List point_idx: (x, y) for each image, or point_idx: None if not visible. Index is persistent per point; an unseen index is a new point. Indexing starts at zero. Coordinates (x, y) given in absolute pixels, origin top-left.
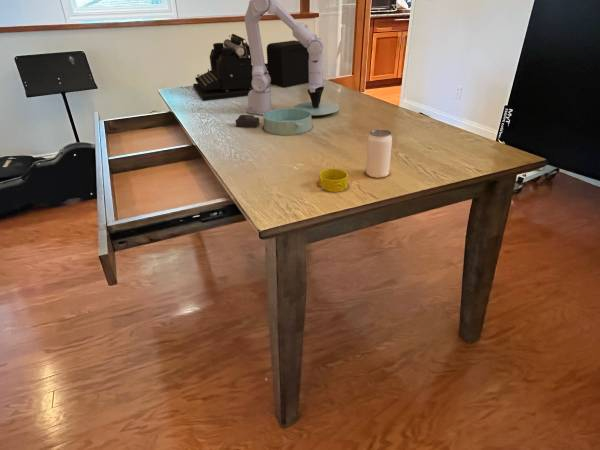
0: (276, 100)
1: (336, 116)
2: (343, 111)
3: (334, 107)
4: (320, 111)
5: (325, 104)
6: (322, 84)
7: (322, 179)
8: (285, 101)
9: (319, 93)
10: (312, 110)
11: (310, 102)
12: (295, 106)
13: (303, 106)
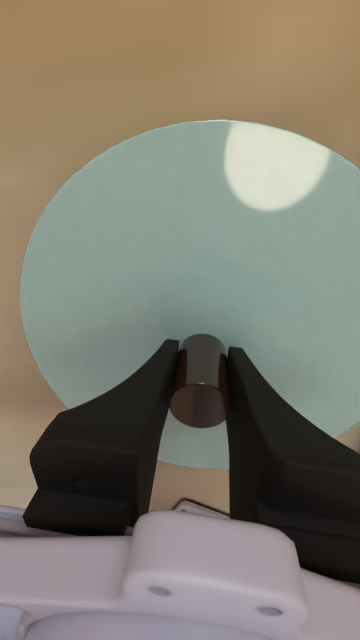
0: (9, 497)
1: (331, 147)
2: (146, 80)
3: (199, 184)
4: (340, 314)
5: (98, 287)
6: (303, 621)
7: None
8: (9, 472)
9: (352, 459)
10: (294, 374)
11: (68, 393)
12: (182, 461)
13: (178, 426)
